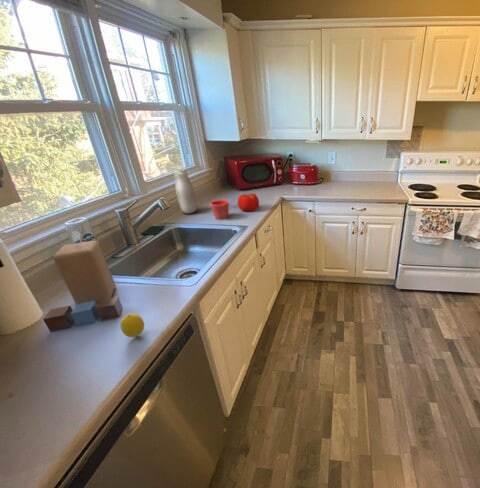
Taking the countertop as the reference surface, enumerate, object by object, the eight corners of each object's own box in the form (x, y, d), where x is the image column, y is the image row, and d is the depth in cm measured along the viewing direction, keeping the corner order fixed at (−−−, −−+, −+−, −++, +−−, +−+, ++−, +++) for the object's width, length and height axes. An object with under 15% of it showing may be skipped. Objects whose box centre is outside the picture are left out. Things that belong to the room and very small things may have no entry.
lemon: (133, 329, 86) (125, 308, 82) (151, 329, 86) (143, 308, 82) (121, 342, 81) (112, 321, 77) (140, 343, 81) (131, 321, 77)
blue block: (77, 326, 87) (70, 313, 85) (82, 316, 92) (76, 304, 89) (96, 322, 89) (90, 309, 87) (100, 312, 93) (95, 300, 91)
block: (76, 308, 95) (50, 256, 87) (85, 292, 103) (62, 244, 95) (111, 300, 99) (90, 250, 90) (117, 286, 107) (98, 238, 98)
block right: (101, 321, 89) (95, 308, 87) (105, 311, 94) (100, 299, 91) (119, 317, 91) (114, 304, 89) (122, 308, 95) (118, 296, 93)
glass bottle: (189, 209, 189) (179, 167, 177) (201, 211, 186) (192, 168, 174) (178, 214, 181) (167, 170, 169) (190, 216, 178) (180, 171, 165)
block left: (50, 332, 85) (42, 319, 83) (57, 321, 89) (50, 309, 87) (70, 327, 87) (63, 314, 85) (76, 317, 91) (70, 305, 89)
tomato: (257, 205, 196) (255, 191, 191) (261, 211, 185) (259, 195, 180) (237, 208, 191) (235, 193, 186) (240, 214, 180) (238, 198, 176)
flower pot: (225, 213, 182) (223, 198, 178) (234, 217, 175) (231, 202, 171) (210, 217, 176) (207, 202, 171) (218, 221, 169) (215, 206, 164)
